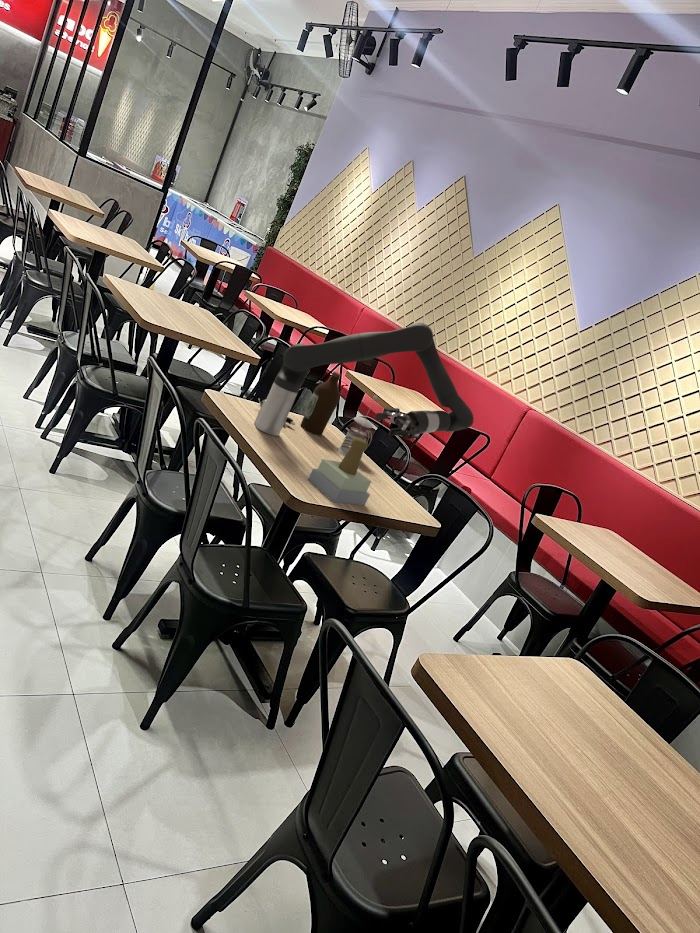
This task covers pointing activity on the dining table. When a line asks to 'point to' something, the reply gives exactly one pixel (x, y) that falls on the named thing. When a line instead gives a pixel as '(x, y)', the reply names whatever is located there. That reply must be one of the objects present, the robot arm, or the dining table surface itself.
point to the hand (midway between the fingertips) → (383, 424)
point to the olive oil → (322, 405)
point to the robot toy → (286, 418)
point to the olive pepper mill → (353, 456)
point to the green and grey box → (340, 483)
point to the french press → (356, 433)
